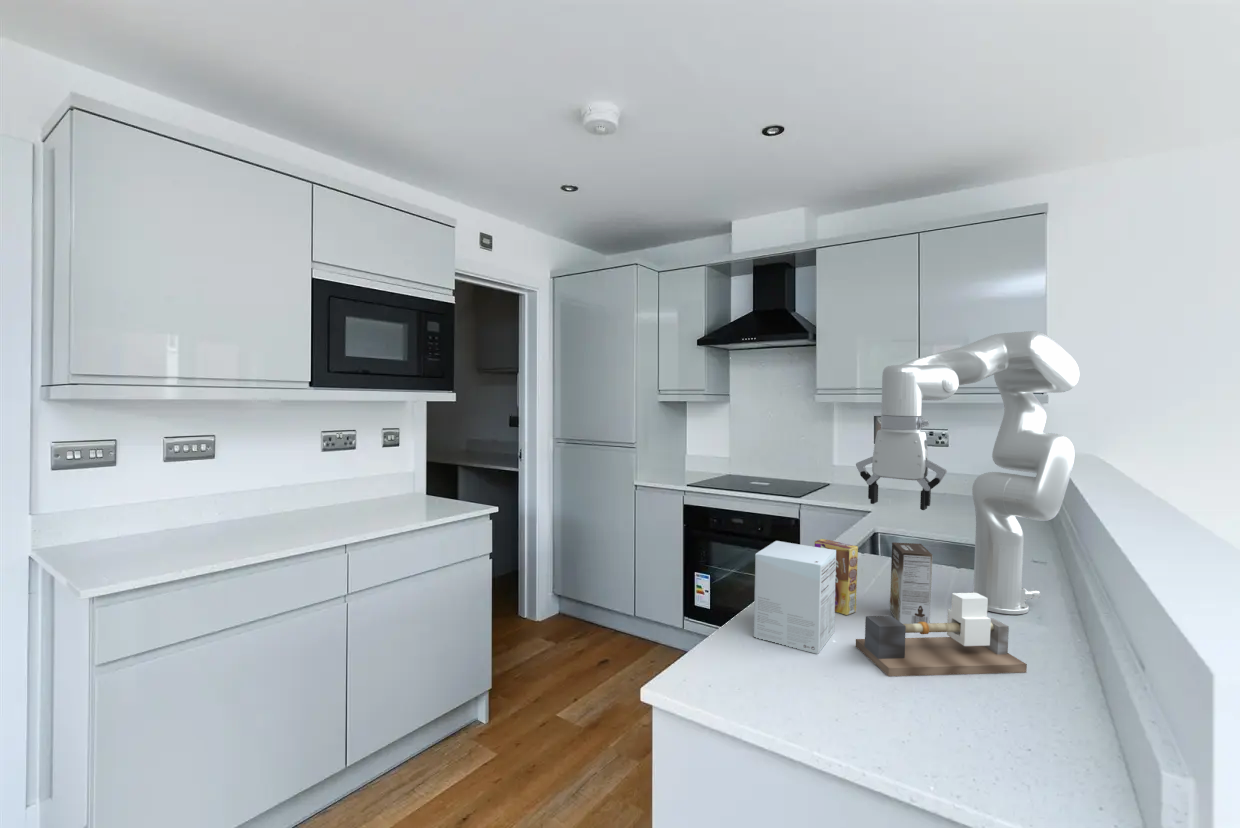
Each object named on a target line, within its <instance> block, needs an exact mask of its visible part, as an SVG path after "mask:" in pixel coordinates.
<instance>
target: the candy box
mask: <svg viewBox="0 0 1240 828" xmlns="http://www.w3.org/2000/svg"><path fill="white" fill-rule="evenodd" d="M814 547H820V548H826V549H833V550H836V579H835V613H838V614H841V615H844V616H845V615H846V616H849V615H852V614H854V613H856V612H857V588H858V587H857V586H858V585H857V584H858V582H857V581H858V560H859V559H858V557H859V546H858V545H853V544H849V543H843V542H839V541H836V540H835V541H834V540H831V539H825V538H820V539H817V540H815V541H814Z"/></svg>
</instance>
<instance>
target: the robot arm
mask: <svg viewBox="0 0 1240 828" xmlns="http://www.w3.org/2000/svg"><path fill="white" fill-rule="evenodd" d="M881 375H882V376H881V377H882V378H881V379H882V380H881V411H880V412H881V414H880V418H881V419H880V429H877V431H876V436H875V439H874V445H873V453H872V454H873V455H872V456H870V457H868V458H866V459H863V460H861V461H858V462H856V463H855V466H856V468H857V471H858V473H859V474H860V476H861V479H863V480H864V482H866V485H868V489H867V490H868V494H867V497H868V500H870V505H871V504H872V505H875V504H876V503H878V502H879V484H878V483H877V482H878V480H879V479H880V478H884V479H885V478H886V479H893V480H905V481H916V482H918V484H919V486H920V487H922V490H920V503H919V505H920V506H919V507H920V508H919V509H920V510H921V511H926V509H928V507H930V506H931V499H932V496H931V494H932V493H931V491H932V490H933V488H935V487H937V486H938V485H939V484H940V483H941V482H942V480H943V478H944V477H945V476H946V474H947V472H948V471H947V469H946V468H944V467H942V466H940V465H939V464H936V463H934V462H933V461H931V460H929V447H928V440H927V435H926V432H925V431H921V430H922V428H926V427H929V426H930V420H929V419H925V418H923V416H922V409H923V408H922V407H923V406H922V405H923V404H922V402H923V401H944V400H947V399H950V398H952V396H954V394H956V392H957V391H958V389H959V386H962V385H963V386H965V385H970V384H975V383H978V382H981V381H983V380H985V379H987V378H990V377H992V376H993V378H994V382H995V385H996V387H997V389H998V393H999V394H1000V396H1001V398H1002V402H1003V407H1004V413H1003V416H1002V419H1001V423H1000V426H999V430H998V432H997V435H996V438H995V441H994V445H993V448H992V454H991V457H992V461H993V463H994V464H995V465H996V466H997V467H999V468H1001V469H1005V470H1009V471H1016V472H1022V473H1023V472H1024V473H1029V474H1030V473H1031V474H1035V476H1028V475H1022V474H1021V475H1020V474H1018V473H1017V474H1016V473H1008V472H1001V471H992V472H990V471H989V472H984V473H981V474H980V475H978V476H977V477H976V478H975V479H974V481H973V484H972V487H971V488H972V499H973V504H974V512H975V538H974V539H975V541H974V542H975V543H974V544H975V545H974V565H973V566H974V567H973V568H974V569H973V570H974V571H973V591H969V592H968V593H978V594H980V595H982V596H984V597H986V598H988V605H987V612H992V613H997V614H1003V615H1023V614H1026V613H1028V612H1029V611H1030V610H1029V609H1030V607H1029V604H1028V603H1027V602H1026V600H1027V601H1028V599H1031V600H1032V599H1033V600H1034V599H1036V600H1038V599H1040V598H1041V592H1040V591H1039V590H1037V589H1036V590H1035V589H1034V590H1033V589H1032V590H1031V589H1030V590H1027V589H1026V588H1025V587H1022V586H1023V585H1022V582H1023V562H1024V561H1023V560H1024V558H1023V557H1024V538H1025V537H1024V532H1023V527H1022V526H1021V524H1020V523H1019V520H1018V519H1017V517H1018V518H1023V519H1024V518H1025V519H1028V520H1033V521H1041V522H1045V521H1050V520H1053V519H1054V518H1055V517H1056V516H1057V515H1058V514H1059V512H1060V510H1061V508H1062V505H1063V502H1064V500H1065V499H1064V498H1065V495H1066V492H1067V488H1068V486H1069V482H1070V479H1071V477H1072V473H1073V469H1074V464H1075V459H1076V457H1075V447H1074V445H1073V443H1072V441H1071V440H1070V439H1069V438H1068V437H1067V436H1065V435H1063V434H1058V433H1052V432H1044V430H1045V425H1046V421H1047V412H1046V410H1045V408H1044V406H1043V404H1042V403H1041V402H1040V401H1039V399H1038V398H1037V396H1036V395H1035V394H1034V393H1050V394H1051V393H1054V394H1055V393H1056V394H1057V393H1058V394H1059V393H1066V392H1069V391H1071V390H1072V389H1074V388H1075V387H1076V385H1077V384H1078V382H1079V381H1080V380H1079V379H1080V369H1079V366H1078V363H1077V361H1076V360H1075V358H1074V357H1073V356H1072V354H1070V353H1069V352H1068V351H1067V350H1065V349H1064V348H1063V347H1062V346H1061V345H1060V344H1059V343H1058V342H1057V341H1056V340H1055V339H1053V338H1052V337H1050V336H1048V335H1047V334H1045V333H1043V332H1041V331H1037V330H1028V331H1017V332H1016V331H1015V332H1002V333H996V334H991V335H989V336H986V337H983V338H982V339H978V340H975V341H973V342H970V343H969V344H966V345H963V346H960V347H957V348H953V349H947V350H945V351H941V352H937V353H934V354H929V355H925V356H921V357H918V358H915V359H911V360H909V361H906V362H903V363H901V364H892V365H891V364H890V365H887V366H886V367H884V369H883V371H882V374H881ZM870 464H872V466H871V469H872V470H871V471H872V475H871V474H870V473H869V472H868V471H867V469H866V466H868V465H870ZM929 470H931V471H933V472H935V476H934V477H933V479H932V480H929V478H927V477H928V475H929Z"/></svg>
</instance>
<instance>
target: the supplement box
mask: <svg viewBox="0 0 1240 828" xmlns="http://www.w3.org/2000/svg"><path fill="white" fill-rule="evenodd" d="M754 560H755V561H754V562H755V563H754V565H755V566H754V567H755V568H754V604H753V605H754V607H753V635H752V636H754V637H756V638H755V639H757V638H759V639H758V640H761V639H763V640H762V641H764V640H768V641H772V642H775V643H774V644H776V643H779V644H778V645H780V644H782V645H781V646H784V645H786V646H785V647H788V646H789V648H792V647H793V648H792V649H796V648H797V650H800V651H805V652H808V653H811V654H812V653H813V654H817V655H818V654H820V652H821V651H822V649H823V648H824V647H825V645H826V644H827V643H828V641H829V640H830V638H832V636H833V634H835V615H836V614H835V613H836V612H835V579H836V550H833V549H826V548H820V547H815V546H813V545H806V544H798V543H793V542H792V543H791V542H787V541H780V540H775V541H773V542H771V543H770V544H769V545H767V546H765V547H764V548H762V549H761V550H759V551H757V552H756V553H755V555H754ZM754 637H753V638H754ZM768 641H767V642H768ZM772 642H771V643H772Z"/></svg>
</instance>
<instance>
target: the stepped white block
mask: <svg viewBox="0 0 1240 828" xmlns="http://www.w3.org/2000/svg"><path fill="white" fill-rule="evenodd" d="M987 605H988V598H986V597H984V596H982V595H980V594H978V593H969V592H953V593H951V605H950V606H951V607H950V609H949V608H948V609H947V621H946V623H961V630H960V632H946V636H947V637H951V638H953V639H954V640H956V641H957V642H959V643H960V644H962V645H963V646H987V645H990V629H991V619H990V618H991V617H988V611H987Z"/></svg>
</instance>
